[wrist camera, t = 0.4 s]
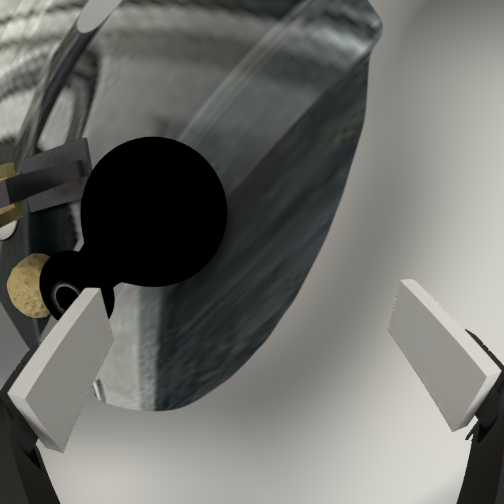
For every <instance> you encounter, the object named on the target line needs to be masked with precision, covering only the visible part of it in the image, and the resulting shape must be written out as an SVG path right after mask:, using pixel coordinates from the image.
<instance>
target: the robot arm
mask: <svg viewBox="0 0 504 504" xmlns="http://www.w3.org/2000/svg"><path fill="white" fill-rule="evenodd" d="M388 331H389V333H390V334H391V336H392V337H393V339H394V340H395V341H396V343H397V345H398V346H399V348H400V349H401V350H402V352H403V354H404V355H405V357H406V358H407V360H408V361H409V363H410V364H411V366H412V367H413V369H414V370H415V372H416V373H417V375H418V376H419V378H420V380H421V381H422V383H423V384H424V386H425V387H426V389H427V391H428V392H429V394H430V395H431V397H432V399H433V400H434V402H435V404H436V405H437V407H438V408H439V410H440V412H441V413H442V415H443V417H444V419H445V420H446V422H447V423H448V425H449V427H450V429H451V430H452V432H454V431H456V430H459V429H461V428H463V427H466V426H467V425H468V424H469V423H470V421H471V420H472V418H473V417H474V415H475V416H476V417H477V419H478V421H477V423H476V424H475V425H474V427H473V428H472V430H471V431H470V432H469V434H468V435H467V437H466V439H465V440H468V439H469V438H470V436H471V435H472V434H473V438H472V440H471V441H472V444H471V450H470V454H469V459H468V464H467V468H466V472H465V476H464V480H463V484H462V487H461V491H460V494H459V497H458V501H457V504H504V366H503V365H502V363H501V362H500V361H499V360H498V359H497V358H496V357H495V356H494V354H492V352H491V351H489V350H488V348H487V347H486V346H485V345H483V343H482V342H481V340H480V339H479V338H478V337H477V336H476V335H474V334H473V333H471V332H470V331H468V330H466V329H463V328H462V327H461V326H460V325H459V323H457V321H456V320H455V319H454V318H453V317H452V316H451V315H450V314H449V313H448V312H447V311H446V310H445V309H444V308H443V307H442V306H441V305H440V304H439V303H438V302H437V301H436V300H435V299H434V298H433V297H432V296H431V295H430V294H429V293H428V292H426V291H425V290H424V289H423V288H422V287H421V286H420V285H419V284H418V283H417V282H416V281H415V280H414V279H408V280H400V282H399V287H398V291H397V296H396V300H395V304H394V308H393V312H392V316H391V320H390V324H389V328H388ZM113 340H114V338H113V335H112V331H111V328H110V324H109V321H108V317H107V313H106V309H105V306H104V302H103V298H102V293H101V289H100V288H85V289H84V290H83V292H82V293H81V294H80V295H79V296H78V298H77V299H76V300H75V301H74V302H73V304H72V305H71V306H70V307H69V309H68V310H67V311H66V312H65V314H64V315H63V316H62V317H61V319H60V320H59V321H58V323H57V324H56V325H55V326H54V328H53V329H52V330H51V332H50V333H49V334H48V336H47V337H46V339H45V340H44V341H43V342H42V344H41V345H40V346H39V345H36V346H35V347H34V348H32V349H31V350H30V351H28V352H27V353H26V355H25V356H24V357H23V359H22V360H21V363H19V364H18V366H17V367H16V370H14V371H13V373H12V374H11V376H10V377H9V379H8V380H7V382H6V383H5V384H4V386H3V388H2V389H1V390H0V504H60V502H59V500H58V497H57V495H56V493H55V490H54V488H53V486H52V484H51V481H50V478H49V476H48V473H47V471H46V468H45V465H44V463H43V460H42V457H41V454H40V451H39V449H38V448H37V446H36V445H35V444H36V442H37V440H38V438H39V439H40V441H41V442H42V443H43V444H44V446H45V447H46V448H49V449H52V450H56V451H59V452H62V453H64V450H65V447H66V445H67V442H68V440H69V437H70V435H71V432H72V430H73V428H74V425H75V423H76V420H77V418H78V416H79V413H80V411H81V408H82V406H83V404H84V402H85V400H86V397H87V395H88V393H89V391H90V388H91V386H92V384H93V382H94V380H95V378H96V375H97V373H98V371H99V369H100V367H101V365H102V363H103V361H104V359H105V357H106V354H107V352H108V350H109V348H110V346H111V344H112V342H113Z"/></svg>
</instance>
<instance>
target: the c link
mask: <svg viewBox="0 0 504 504" xmlns="http://www.w3.org/2000/svg"><path fill="white" fill-rule="evenodd" d="M14 176H16V175H15V170H14V163H13V162H12V163H8V164H4V165H0V181H2V180H4V179H7V178H10V177H14ZM23 216H24V213H23V208H22V204H21V201H18V202H16V203H14V204H11V205H9V206H6V207H3V208H0V228H2V227H3V226H5V225H7V224H9V223H11V222H13V221H15V220H17V219H19V218H21V217H23Z"/></svg>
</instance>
